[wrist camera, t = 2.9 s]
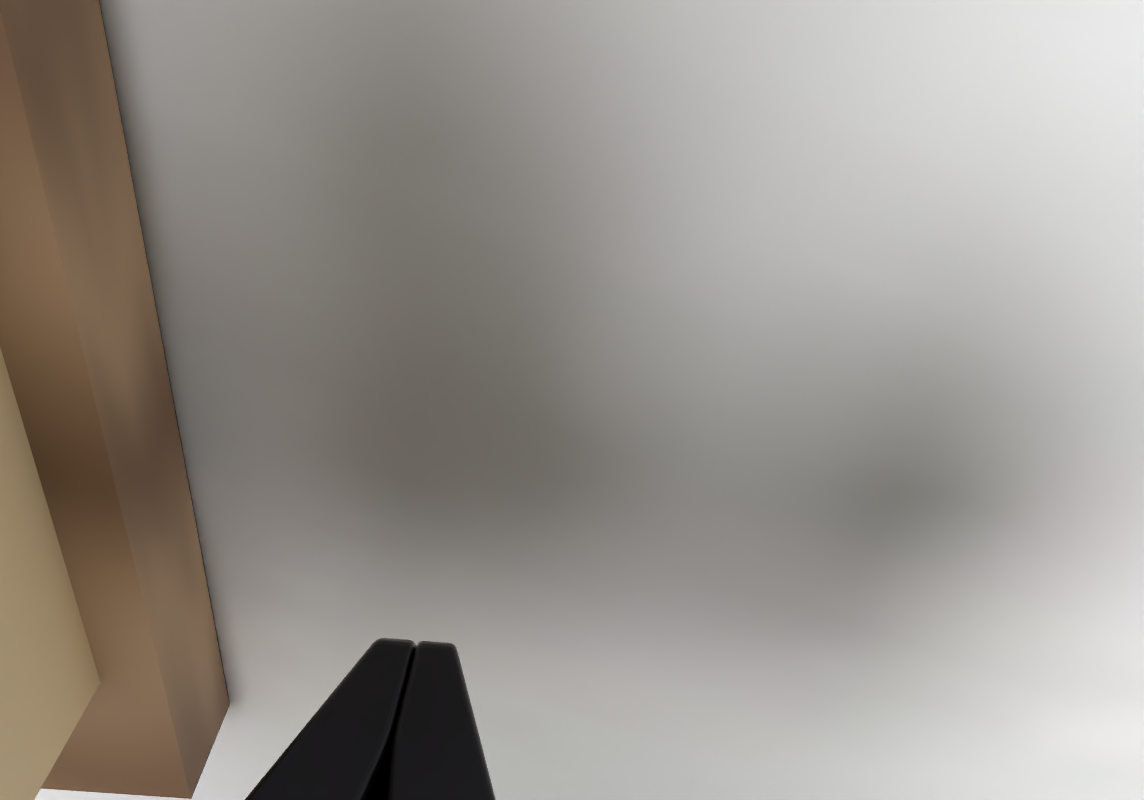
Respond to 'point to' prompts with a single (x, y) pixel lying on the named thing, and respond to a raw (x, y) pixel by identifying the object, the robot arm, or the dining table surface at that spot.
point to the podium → (101, 409)
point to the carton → (34, 621)
